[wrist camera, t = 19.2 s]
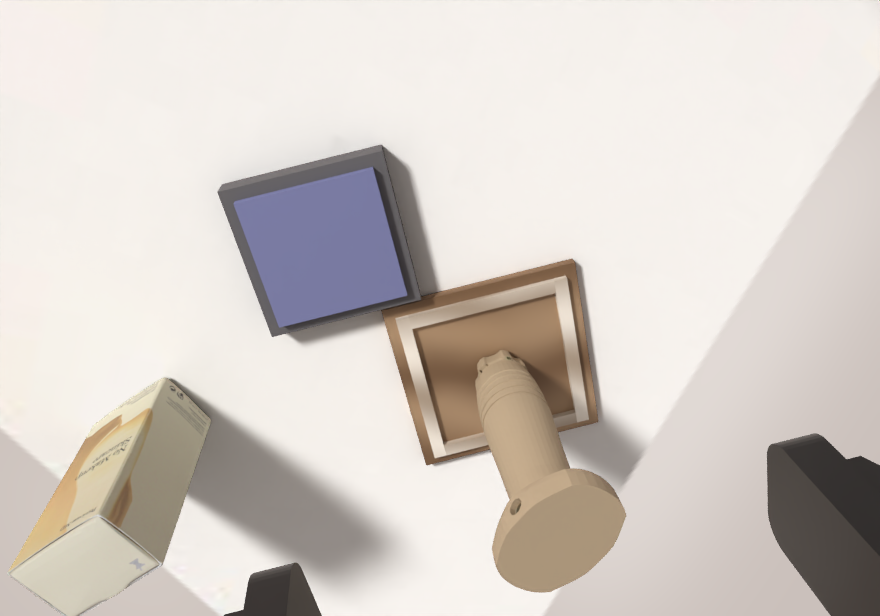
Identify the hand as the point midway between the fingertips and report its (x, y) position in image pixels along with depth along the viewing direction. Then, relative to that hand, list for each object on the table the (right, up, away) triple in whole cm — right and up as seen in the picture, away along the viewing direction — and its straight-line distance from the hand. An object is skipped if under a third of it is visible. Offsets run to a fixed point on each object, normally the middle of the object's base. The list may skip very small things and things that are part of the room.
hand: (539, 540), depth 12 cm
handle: (+2, 0, +33) cm, 33 cm away
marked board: (+2, 0, +34) cm, 34 cm away
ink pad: (-8, +8, +29) cm, 31 cm away
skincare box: (-20, -3, +33) cm, 39 cm away
